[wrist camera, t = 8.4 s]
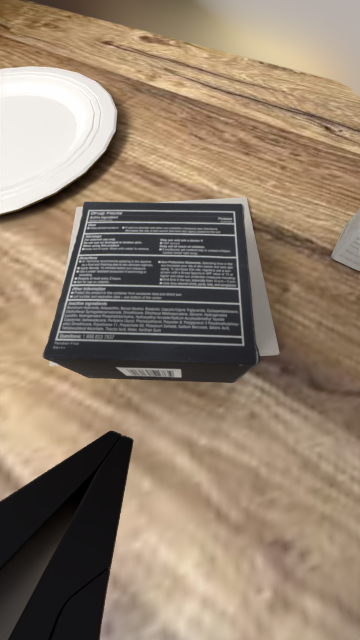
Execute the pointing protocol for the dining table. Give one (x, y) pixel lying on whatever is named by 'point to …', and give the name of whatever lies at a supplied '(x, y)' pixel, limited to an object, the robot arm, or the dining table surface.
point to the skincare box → (349, 244)
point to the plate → (49, 132)
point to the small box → (157, 294)
